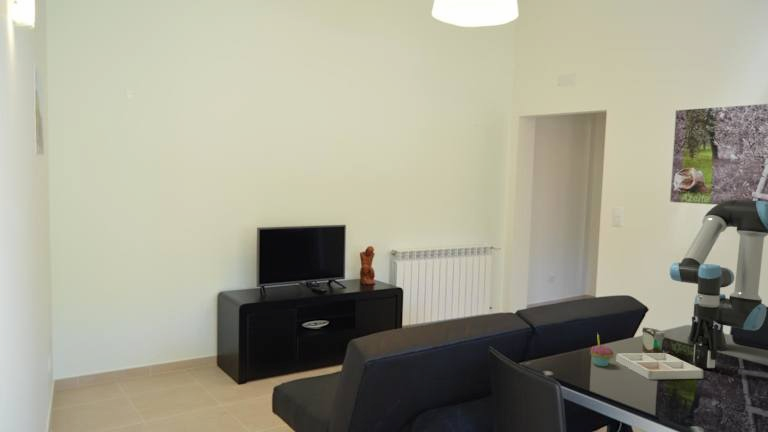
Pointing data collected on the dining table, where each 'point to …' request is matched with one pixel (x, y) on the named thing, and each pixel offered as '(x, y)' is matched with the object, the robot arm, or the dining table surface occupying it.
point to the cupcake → (601, 354)
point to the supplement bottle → (701, 352)
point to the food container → (652, 340)
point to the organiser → (659, 366)
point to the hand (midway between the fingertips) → (703, 364)
